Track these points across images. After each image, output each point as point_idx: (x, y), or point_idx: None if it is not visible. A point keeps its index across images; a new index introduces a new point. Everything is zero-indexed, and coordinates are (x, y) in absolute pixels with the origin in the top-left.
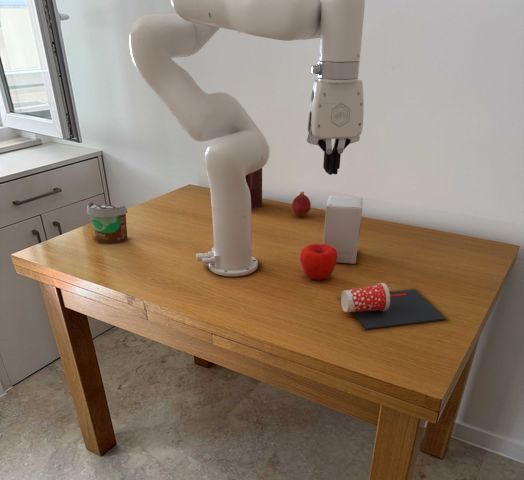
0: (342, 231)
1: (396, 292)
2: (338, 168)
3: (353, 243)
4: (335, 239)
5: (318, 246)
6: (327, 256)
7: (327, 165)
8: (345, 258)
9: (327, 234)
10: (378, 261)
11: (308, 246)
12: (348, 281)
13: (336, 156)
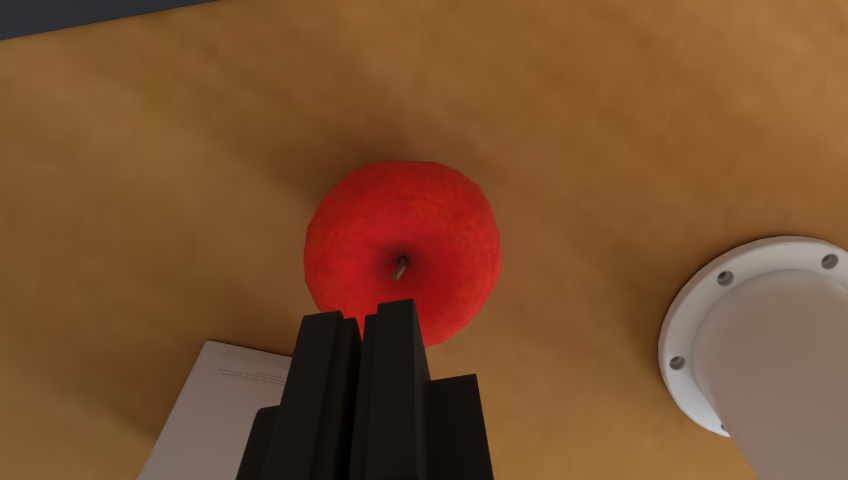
0: None
1: (33, 21)
2: (275, 408)
3: (199, 399)
4: None
5: None
6: (366, 191)
7: (455, 398)
8: (249, 359)
9: None
10: (93, 364)
11: (455, 311)
12: (259, 169)
13: (308, 461)
